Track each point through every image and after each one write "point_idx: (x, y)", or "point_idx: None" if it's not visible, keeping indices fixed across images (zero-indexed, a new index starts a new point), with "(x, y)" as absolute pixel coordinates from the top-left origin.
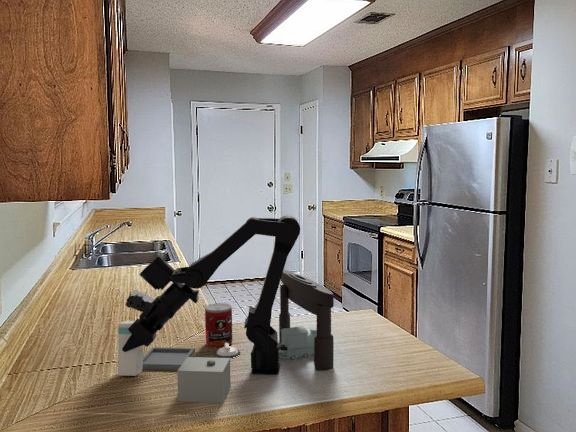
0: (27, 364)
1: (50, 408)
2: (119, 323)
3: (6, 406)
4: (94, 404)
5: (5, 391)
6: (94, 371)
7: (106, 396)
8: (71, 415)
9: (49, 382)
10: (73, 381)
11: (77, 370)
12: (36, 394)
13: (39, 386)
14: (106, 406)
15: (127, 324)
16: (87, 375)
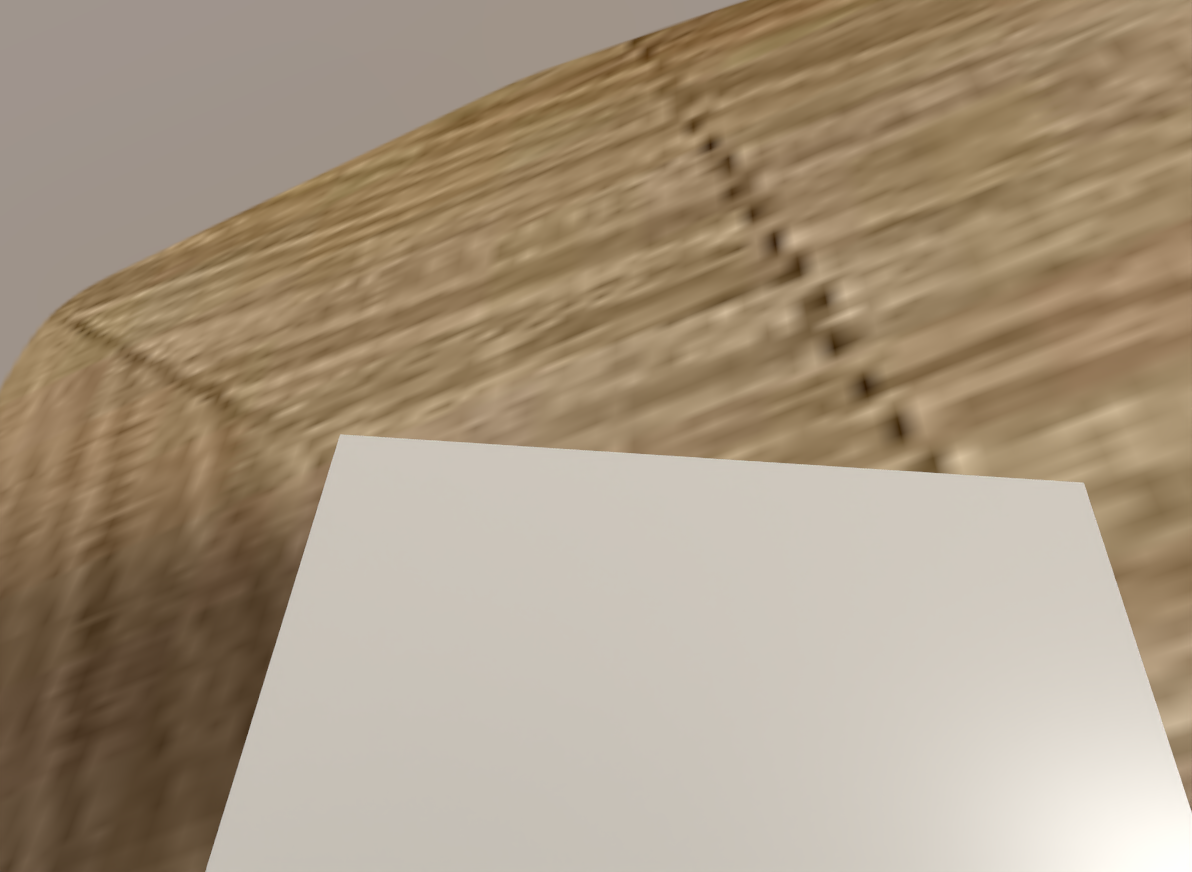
0: (769, 33)
1: (161, 396)
2: (369, 451)
3: (259, 208)
4: (108, 635)
5: (426, 126)
6: (685, 405)
7: (206, 678)
8: (20, 548)
9: (510, 236)
10: (511, 348)
11: (698, 291)
12: (360, 254)
13: (462, 219)
14: (38, 743)
15: (223, 860)
16: (608, 389)
